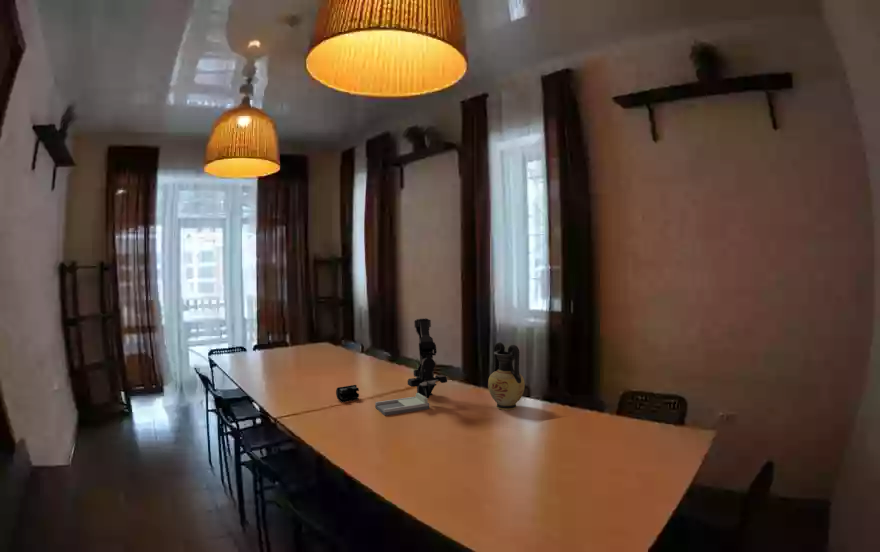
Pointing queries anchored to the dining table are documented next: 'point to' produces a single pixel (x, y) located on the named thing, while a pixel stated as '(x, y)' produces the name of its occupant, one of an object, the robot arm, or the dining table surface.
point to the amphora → (506, 377)
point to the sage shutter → (413, 400)
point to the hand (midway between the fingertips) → (427, 398)
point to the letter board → (398, 407)
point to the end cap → (347, 393)
